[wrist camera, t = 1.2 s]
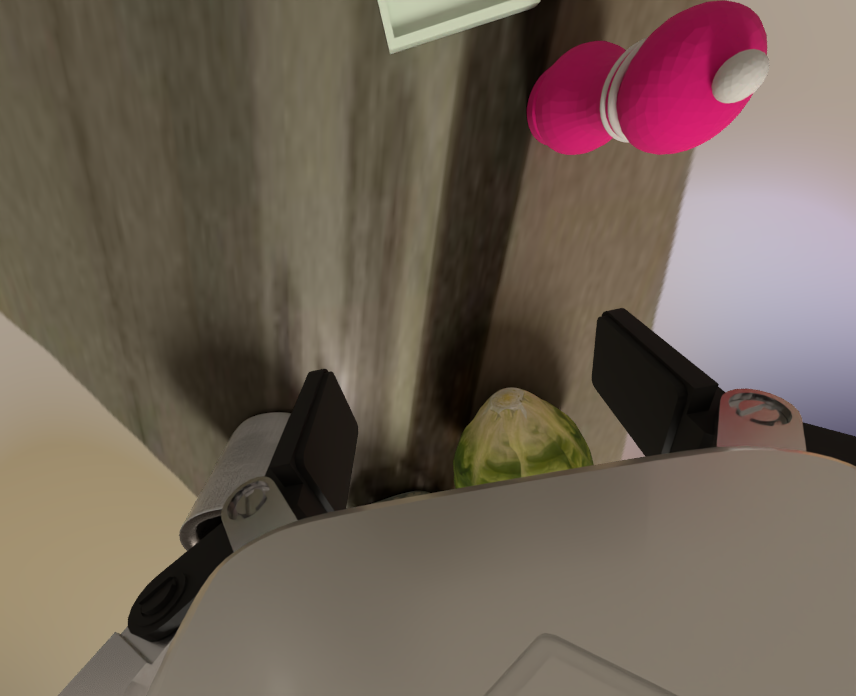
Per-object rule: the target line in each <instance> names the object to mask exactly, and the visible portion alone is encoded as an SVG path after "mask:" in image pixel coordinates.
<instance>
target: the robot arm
mask: <svg viewBox="0 0 856 696" xmlns="http://www.w3.org/2000/svg"><path fill="white" fill-rule="evenodd" d="M592 383H593V385H594V387H595V389H596V390H597V392H598V393H599V394H600V396H601V397H602V398H603V400H604V401H605V402H606V404H607V405H608V406H609V408H610V409H611V411H612V412H613V413H614V415H615V416H616V417H617V419H618V420H619V421H620V423H621V424H622V425H623V427H624V428H625V429H626V431H627V432H628V433H629V435H630V436H631V437H632V439H633V440H634V442H635V443H636V444H637V446H638V447H639V448H640V450H641V451H642V452H643V454H644V455H645V456H646V457H640V458H634V459H628V460H622V461H616V462H610V463H604V464H598V465H592V466H586V467H580V468H574V469H568V470H562V471H556V472H550V473H544V474H538V475H533V476H527V477H521V478H515V479H510V480H504V481H498V482H492V483H486V484H481V485H475V486H469V487H464V488H458V489H452V490H447V491H441V492H435V493H430V494H424V495H419V496H413V497H407V498H402V499H396V500H391V501H385V502H379V503H374V504H369V505H364V506H359V507H354V508H349V509H346V504H347V498H348V492H349V486H350V480H351V473H352V467H353V461H354V455H355V449H356V443H357V437H358V425H357V422H356V420H355V418H354V416H353V413H352V411H351V409H350V407H349V405H348V403H347V401H346V399H345V396H344V394H343V392H342V390H341V388H340V386H339V384H338V382H337V379H336V377H335V375H334V373H333V372H328V370H327V369H321V370H316V371H311V372H309V373H308V375H307V377H306V380H305V382H304V385H303V387H302V389H301V392H300V394H299V397H298V399H297V402H296V404H295V406H294V409H293V411H292V413H291V415H290V416H289V418H288V421H287V423H286V426H285V428H284V430H283V433H282V435H281V438H280V440H279V443H278V445H277V447H276V450H275V452H274V455H273V457H272V459H271V462H270V464H269V467H268V469H267V471H266V474H265V476H261V477H255V478H253V479H250V480H248V481H246V482H245V483H243V484H241V485H240V486H239V487H238V488H237V489H235V490H234V491H233V492H232V494H231V495H230V496H229V497H228V498H227V500H226V502H225V504H224V505H223V508H222V512H221V518H222V523H221V524H220V525H218V526H217V527H216V528H215V529H214V530H212V531H211V532H210V533H209V534H208V535H206V536H205V537H204V538H203V539H201V540H200V541H199V542H198V543H197V544H195V545H194V546H193V547H192V548H191V549H189V550H188V551H187V552H186V553H184V554H183V555H182V556H181V557H180V558H179V559H177V560H176V561H175V562H174V563H172V564H171V565H170V566H169V567H167V568H166V569H165V570H164V571H163V572H161V573H160V574H159V575H158V576H157V577H155V578H154V579H153V580H152V581H151V582H150V583H149V584H148V585H147V586H146V587H145V589H144V590H143V591H142V592H141V594H140V595H139V596H138V598H137V599H136V601H135V603H134V605H133V606H132V608H131V611H130V614H129V617H128V626H127V628H126V629H125V630H124V631H123V632H122V633H121V634H119V633H116V632H115V633H114V634H113V635H112V636H111V638H110V639H109V640H108V641H107V642H106V643H105V644H104V645H103V646H102V647H101V649H99V651H98V652H97V653H96V654H95V655H94V656H93V657H92V658H91V659H90V661H89V662H88V663H87V664H86V665H85V666H84V667H83V668H82V669H81V671H80V672H79V673H78V674H77V675H76V676H75V677H74V678H73V679H72V680H71V682H70V683H69V684H68V685H67V686H66V687H65V688H64V689H63V691H62V692H61V693H60V694H59V695H58V696H856V437H855V436H852V435H848V434H844V433H840V432H837V431H833V430H829V429H826V428H822V427H818V426H814V425H811V424H807V423H803V422H802V418H801V415H800V413H799V411H798V410H797V409H796V408H795V407H794V406H793V405H792V404H790V403H789V402H787V401H786V400H784V399H782V398H780V397H778V396H776V395H773V394H771V393H767V392H763V391H760V390H753V389H734V390H730V391H728V392H724V391H723V390H722V389H721V388H719V387H718V383H717V382H715V381H714V380H713V379H711V378H710V377H709V376H708V375H707V374H705V373H704V372H703V371H702V370H700V369H699V368H698V367H697V366H695V365H694V364H693V363H691V362H690V361H689V360H688V359H686V358H685V357H684V356H683V355H682V354H680V353H679V352H678V351H677V350H675V349H674V348H673V347H672V346H670V345H669V344H668V343H667V342H665V341H664V340H663V339H662V338H660V337H659V336H658V335H657V334H655V333H654V332H653V331H652V330H650V329H649V328H648V327H647V326H645V325H644V324H643V323H642V322H640V321H639V320H638V319H637V318H635V317H634V316H633V315H632V314H630V313H629V312H628V311H627V310H625V309H624V308H620V309H615V310H610V311H605V312H603V314H602V317H599V318H598V319H597V327H596V338H595V348H594V359H593V369H592Z"/></svg>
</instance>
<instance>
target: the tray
mask: <svg viewBox="0 0 856 696" xmlns="http://www.w3.org/2000/svg"><path fill="white" fill-rule="evenodd" d="M377 1H378V5H379V9H380V13H381V18H382V22H383V26H384V30H385V35H386V39H387V43H388V47H389V52H390V54H393V53H396V52H399V51H402V50H405V49H408V48H411V47H414V46H417V45H420V44H424V43H427V42H430V41H433V40H436V39H439V38H442V37H445V36H448V35H451V34H454V33H458V32H461V31H464V30H467V29H470V28H473V27H476V26H479V25H482V24H485V23H488V22H492V21H495V20H498V19H501V18H504V17H507V16H510V15H513V14H516V13H519V12H522V11H526V10H529V9H532V8H534V7H535V6H536V5H537V4H538V3H539V2H540V0H377Z"/></svg>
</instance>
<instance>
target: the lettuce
mask: <svg viewBox="0 0 856 696" xmlns="http://www.w3.org/2000/svg"><path fill="white" fill-rule="evenodd" d="M453 464H454V484H455V488H456V489H458V488H464V487H469V486H475V485H481V484H486V483H492V482H498V481H504V480H510V479H515V478H521V477H527V476H533V475H538V474H544V473H550V472H556V471H562V470H568V469H574V468H580V467H586V466H592V465H594V464H593V460H592V456H591V452H590V450H589V447H588V445H587V443H586V441H585V439H584V438H583V436H582V434H581V433H580V431H579V429H578V427H577V426H576V424H575V423H574V422H573V421H572V420H571V418H570V417H569V416H567V415H566V414H565V413H563V412H562V411H561V410H559V409H558V408H556V407H554V406H553V405H551V404H550V403H548V402H547V401H544V400H541V399H540V398H539V397H537V396H535V395H534V394H532V393H530V392H528V391H526V390H523V389H519V388H513V387H511V388H504V389H501V390H499V391H497V392H496V393H494V394H493V395H492V396H491V397H490V398H489V399H488V400H487V401H486V402H485V403H484V404H483V406H482V407H481V408H480V409H479V411H478V413H477V414H476V416H475V418H474V419H473V420H472V421H471V422H470V423H469V425H468V426H467V427H466V428H465V430H464V432H463V433H462V435H461V438H460V441H459V444H458V447H457V449H456V452H455V457H454V462H453Z"/></svg>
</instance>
